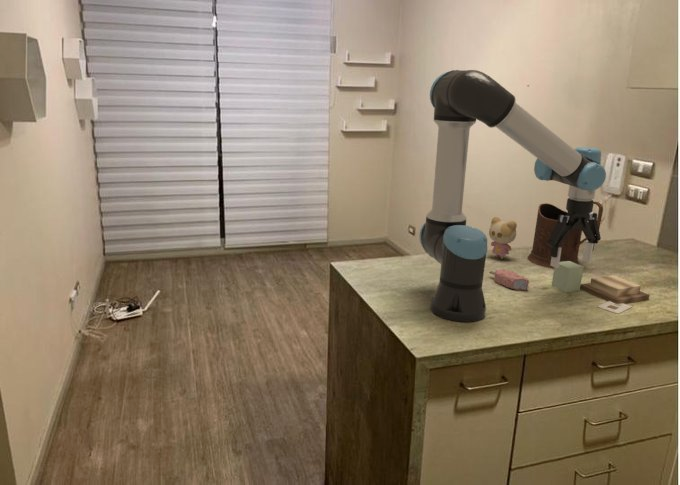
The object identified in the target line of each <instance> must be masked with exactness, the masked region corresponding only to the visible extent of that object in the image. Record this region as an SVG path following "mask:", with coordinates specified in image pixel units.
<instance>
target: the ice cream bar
mask: <svg viewBox="0 0 680 485" xmlns="http://www.w3.org/2000/svg"><path fill="white" fill-rule="evenodd" d="M489 274H492V275H493V277H494V282H495V283H497V284H499V285H503V286H504V287H506V288H508V289H511V290H517V291H519V290H520V291H527V290H528V289H529V285H530V280H529V279H528V278H527V277H525V276H524V275H520V274H518V273H515V272H513V271H510V270H505V269H497V270H495V271H489Z"/></svg>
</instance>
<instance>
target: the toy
mask: <svg viewBox="0 0 680 485" xmlns="http://www.w3.org/2000/svg"><path fill="white" fill-rule="evenodd" d="M517 227H518V226H517V222H516V221H515V220H510V221H508V222H507V221H503V220H501V218H499V217H497V216H494V217H493V218H491V222H490V226H489V231H488V235H489V238H490V239H491V240H492V242H490V246H491V247H493V248H492V251H491V253H493V254H494V255H495V257H494V258H496V259H498V258H499V259H500V260H504V259H505V255H509V253H510V252H511V251H512V247H511V245H510V244H511V243H512V242H513V241H515V239H516V237H517Z"/></svg>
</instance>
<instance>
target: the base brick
mask: <svg viewBox="0 0 680 485" xmlns="http://www.w3.org/2000/svg"><path fill="white" fill-rule="evenodd" d="M641 287H642V285H640V284H638V283H636V282H633V281H630V280H627V279H624V278H622V277H619V276H618V275H615V274H612V275H605V276H598V277H591V279H590V282H587V283H581V286H580V291H581V290H582V291H584V292H586V293H588V294H591V295H593V296H595V297H597V298H600V299H602V300H604V301H606V302H608V301H611V302H613V303H615V304H621V303H624V304H631V303H636V302H640V301H641V302H642V301H647V300H650V294H649V293H646V292H643V291H641V289H642V288H641Z"/></svg>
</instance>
